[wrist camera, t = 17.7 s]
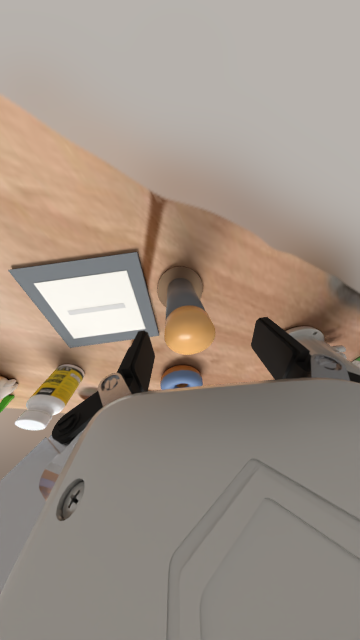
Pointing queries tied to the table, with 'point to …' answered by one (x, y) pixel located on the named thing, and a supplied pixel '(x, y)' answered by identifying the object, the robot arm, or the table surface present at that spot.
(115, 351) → the table surface
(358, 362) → the ink box
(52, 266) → the grey picture frame
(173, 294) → the marker
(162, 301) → the coaster
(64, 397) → the supplement bottle
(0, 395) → the kitten
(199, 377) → the doughnut
